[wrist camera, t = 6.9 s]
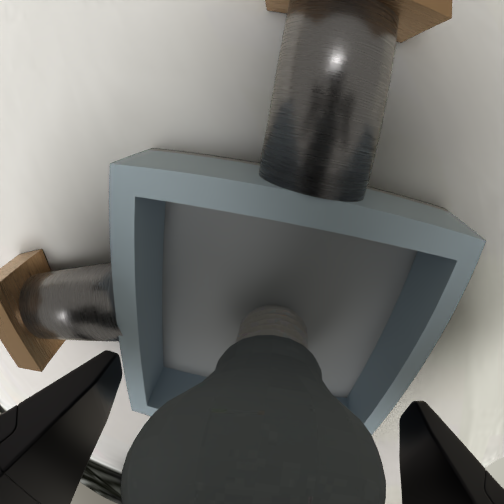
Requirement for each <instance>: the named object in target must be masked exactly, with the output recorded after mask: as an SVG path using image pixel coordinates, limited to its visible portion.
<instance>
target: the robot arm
mask: <svg viewBox="0 0 504 504" xmlns="http://www.w3.org/2000/svg"><path fill="white" fill-rule="evenodd" d="M121 378H122V367H121V362H120V357H119V355H118V354H117V353H114V352H111V351H104V352H102V353H100V354H99V355H97V356H96V357H94V358H92V359H91V360H89V361H88V362H86V363H84V364H83V365H81V366H79V367H78V368H76V369H75V370H73V371H71V372H70V373H68V374H67V375H65V376H63V377H62V378H60V379H58V380H57V381H55V382H54V383H52V384H50V385H49V386H47V387H45V388H44V389H42V390H41V391H39V392H37V393H36V394H34V395H32V396H31V397H29V398H28V399H26V400H24V401H23V402H21V403H19V404H18V406H17V405H16V406H14V407H13V408H11V409H9V410H8V411H6V412H4V413H2V414H1V415H0V504H70V503H71V501H72V498H73V496H74V493H75V491H76V488H77V486H78V484H79V482H80V479H81V477H82V475H83V472H84V470H85V468H86V466H87V463H88V461H89V459H90V457H91V454H92V452H93V450H94V448H95V446H96V443H97V441H98V439H99V437H100V435H101V433H102V430H103V428H104V426H105V424H106V422H107V419H108V417H109V414H110V411H111V408H112V405H113V402H114V399H115V396H116V393H117V390H118V387H119V384H120V381H121ZM399 424H400V455H399V456H400V475H401V489H402V504H504V489H503V488H502V487H501V486H500V485H499V484H498V483H497V481H495V480H494V478H493V477H492V476H491V475H490V474H489V473H488V471H485V468H484V467H483V466H482V465H481V463H480V462H479V461H478V460H477V459H476V458H475V457H474V455H473V454H472V453H471V452H470V451H469V450H468V449H467V447H466V446H465V445H464V444H463V443H462V442H461V441H460V440H459V438H458V437H457V436H456V435H455V434H454V433H453V432H452V431H451V430H450V428H449V427H448V426H447V425H446V424H445V423H444V422H443V421H442V420H441V418H440V417H439V416H438V415H437V414H436V413H435V412H434V411H433V410H432V409H431V407H430V406H429V405H428V404H427V403H426V402H424V401H413V402H412V403H411V404H410V405H409V407H408V408H407V409H406V410H405V412H404V413H403V414H402V416H401V418H400V423H399Z"/></svg>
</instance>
